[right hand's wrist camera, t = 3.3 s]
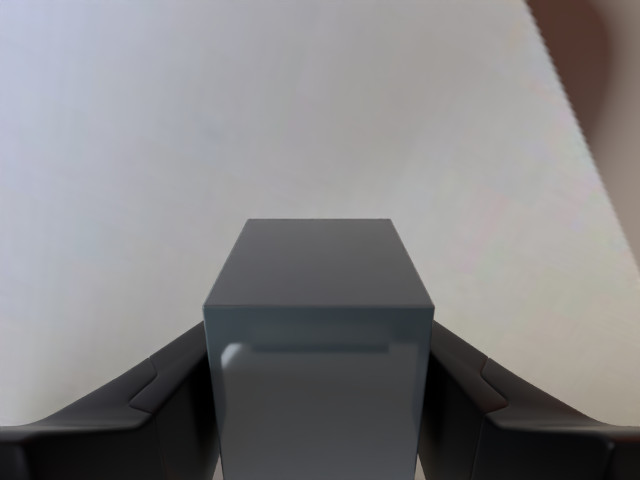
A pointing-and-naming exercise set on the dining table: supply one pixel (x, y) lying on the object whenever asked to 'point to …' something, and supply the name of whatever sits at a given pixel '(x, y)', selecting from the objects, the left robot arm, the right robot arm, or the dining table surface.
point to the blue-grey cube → (318, 352)
